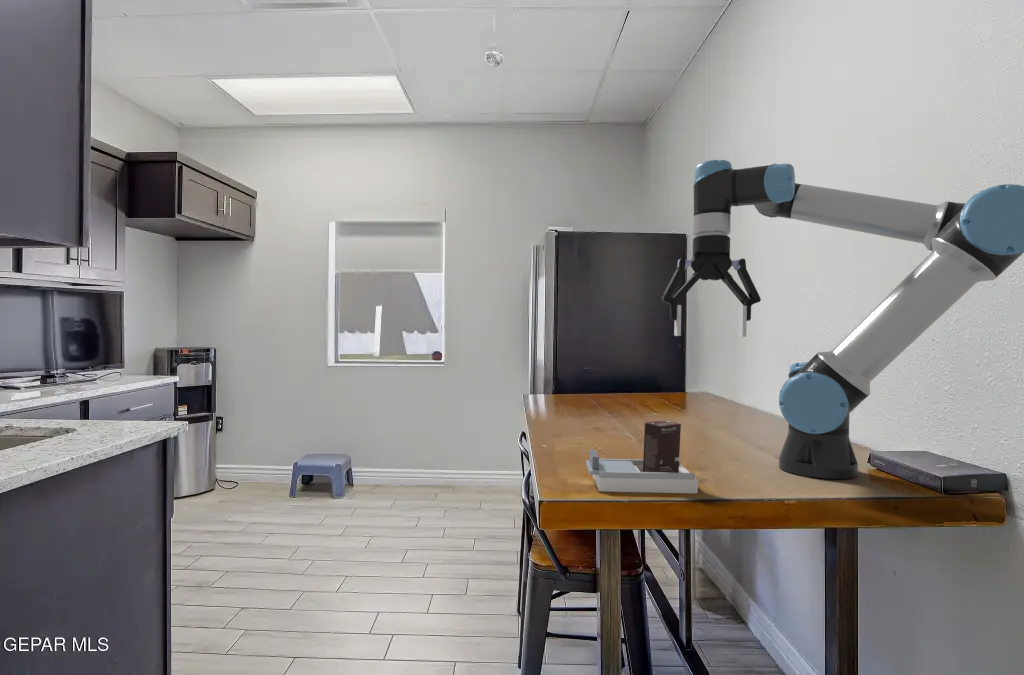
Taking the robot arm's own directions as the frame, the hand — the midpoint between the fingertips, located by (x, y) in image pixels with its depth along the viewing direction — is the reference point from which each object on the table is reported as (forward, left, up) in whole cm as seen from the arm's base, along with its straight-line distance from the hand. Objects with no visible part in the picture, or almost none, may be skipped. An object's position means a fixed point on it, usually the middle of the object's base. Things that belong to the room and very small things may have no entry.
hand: (709, 336), depth 125 cm
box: (+12, +12, -29) cm, 34 cm away
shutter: (+22, +12, -26) cm, 36 cm away
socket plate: (+16, +12, -29) cm, 35 cm away
